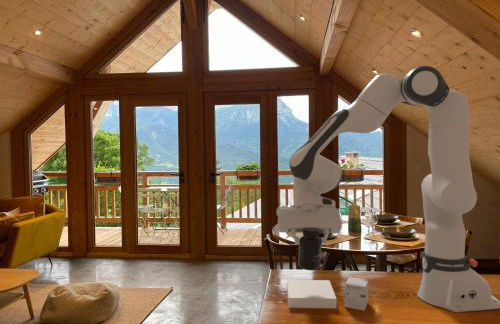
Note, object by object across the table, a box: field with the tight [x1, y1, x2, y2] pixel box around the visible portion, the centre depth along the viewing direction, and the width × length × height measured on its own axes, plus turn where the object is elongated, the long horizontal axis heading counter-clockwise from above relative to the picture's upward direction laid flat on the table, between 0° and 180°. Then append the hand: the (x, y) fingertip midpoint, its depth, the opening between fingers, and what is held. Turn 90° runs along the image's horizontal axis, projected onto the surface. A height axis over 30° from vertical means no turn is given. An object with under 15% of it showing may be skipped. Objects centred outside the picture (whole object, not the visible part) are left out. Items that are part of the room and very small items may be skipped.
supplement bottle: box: [297, 228, 322, 271], centre depth 123 cm, size 7×7×12 cm
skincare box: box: [344, 276, 370, 311], centre depth 119 cm, size 6×6×7 cm
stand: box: [286, 279, 338, 309], centre depth 124 cm, size 14×14×3 cm
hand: (310, 243), depth 122 cm, fingers closed on supplement bottle, 7 cm apart
